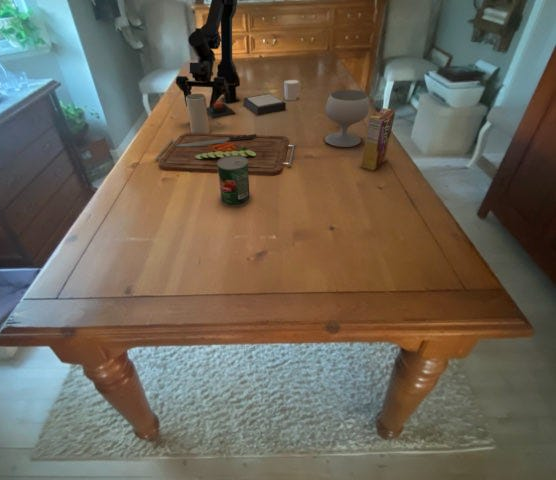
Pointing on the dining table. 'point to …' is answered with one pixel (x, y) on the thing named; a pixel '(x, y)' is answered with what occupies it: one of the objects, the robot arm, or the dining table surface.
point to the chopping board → (226, 152)
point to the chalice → (346, 115)
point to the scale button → (218, 104)
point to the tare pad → (219, 111)
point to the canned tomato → (234, 180)
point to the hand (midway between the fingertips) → (198, 107)
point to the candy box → (377, 138)
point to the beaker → (198, 113)
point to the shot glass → (291, 89)
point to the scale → (264, 104)
